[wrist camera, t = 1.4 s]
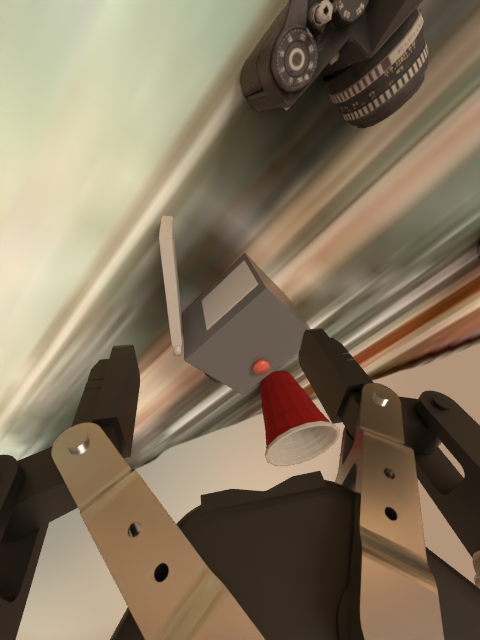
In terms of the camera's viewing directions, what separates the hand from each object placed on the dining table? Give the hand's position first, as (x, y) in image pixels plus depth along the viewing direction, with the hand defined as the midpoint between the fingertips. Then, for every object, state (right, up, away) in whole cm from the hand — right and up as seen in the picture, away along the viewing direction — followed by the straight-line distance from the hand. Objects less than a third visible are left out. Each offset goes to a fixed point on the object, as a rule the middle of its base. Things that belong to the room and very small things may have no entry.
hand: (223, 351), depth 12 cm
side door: (-7, +7, +18) cm, 20 cm away
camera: (+8, +24, +11) cm, 28 cm away
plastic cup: (+7, -9, +34) cm, 36 cm away
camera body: (0, +3, +23) cm, 23 cm away
